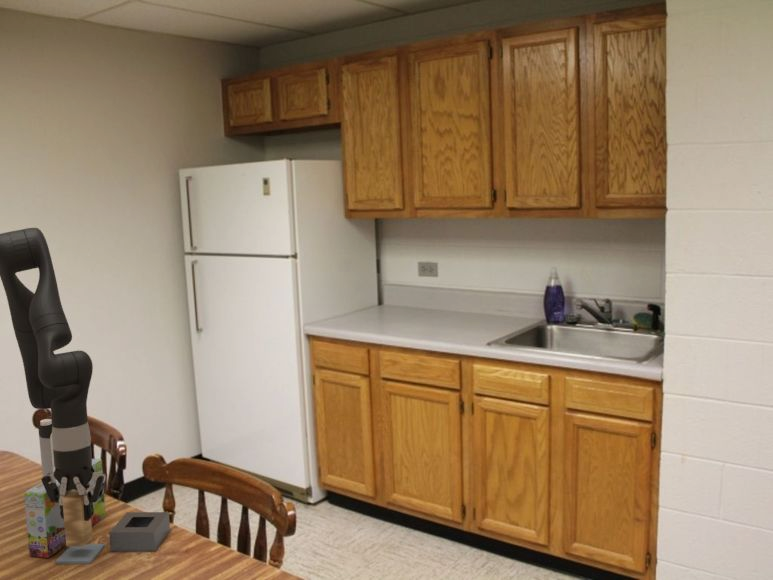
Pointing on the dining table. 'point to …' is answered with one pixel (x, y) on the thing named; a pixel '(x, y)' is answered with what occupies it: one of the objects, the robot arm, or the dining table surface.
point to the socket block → (139, 531)
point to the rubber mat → (80, 554)
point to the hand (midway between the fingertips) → (77, 519)
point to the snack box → (53, 518)
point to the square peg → (75, 520)
